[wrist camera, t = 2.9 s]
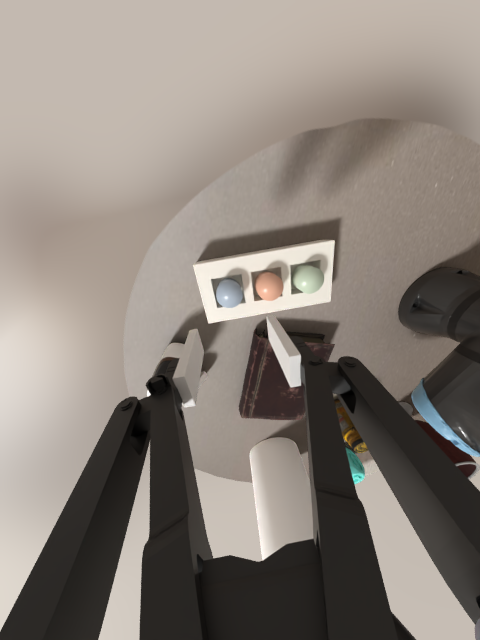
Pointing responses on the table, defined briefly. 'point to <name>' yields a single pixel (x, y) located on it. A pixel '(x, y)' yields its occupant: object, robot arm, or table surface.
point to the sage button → (307, 279)
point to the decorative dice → (355, 467)
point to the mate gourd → (447, 447)
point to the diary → (275, 380)
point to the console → (253, 264)
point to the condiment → (349, 428)
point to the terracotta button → (268, 286)
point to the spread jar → (168, 355)
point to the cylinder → (280, 494)
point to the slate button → (229, 293)
